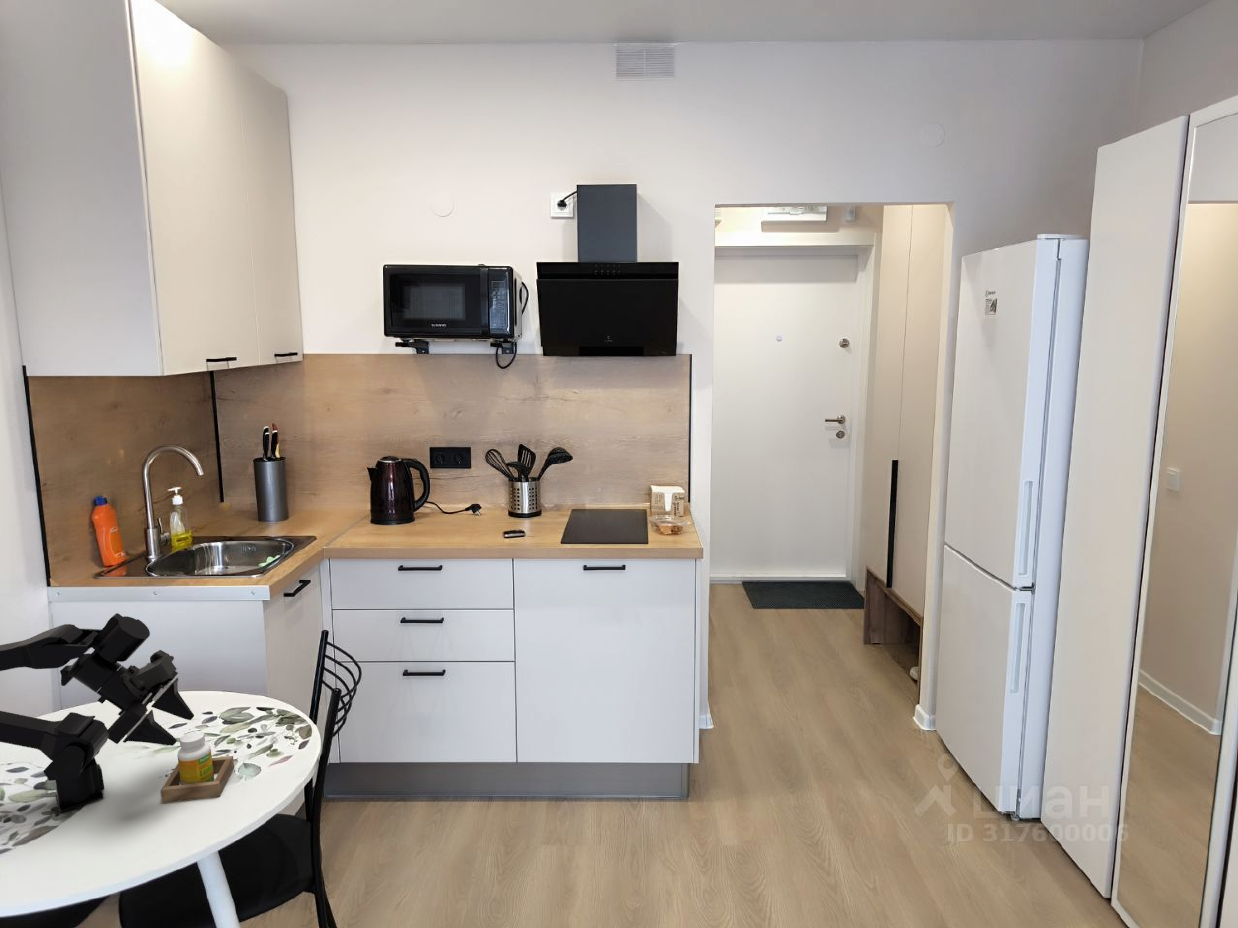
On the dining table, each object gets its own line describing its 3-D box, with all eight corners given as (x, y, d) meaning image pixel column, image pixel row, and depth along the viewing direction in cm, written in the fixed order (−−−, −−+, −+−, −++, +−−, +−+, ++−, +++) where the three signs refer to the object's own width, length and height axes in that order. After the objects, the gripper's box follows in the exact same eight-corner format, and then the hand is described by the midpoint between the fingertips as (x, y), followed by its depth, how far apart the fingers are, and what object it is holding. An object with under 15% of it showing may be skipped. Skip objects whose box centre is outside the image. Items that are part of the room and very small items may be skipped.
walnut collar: (162, 802, 142) (160, 790, 142) (180, 773, 151) (179, 761, 151) (219, 796, 144) (218, 783, 143) (234, 767, 153) (233, 755, 153)
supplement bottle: (204, 793, 145) (198, 743, 143) (175, 793, 145) (168, 744, 143) (220, 776, 150) (214, 728, 148) (191, 776, 150) (185, 728, 149)
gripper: (118, 668, 132) (197, 723, 136) (160, 626, 150) (229, 675, 154) (72, 717, 132) (153, 770, 136) (119, 669, 150) (189, 717, 154)
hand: (184, 730), depth 145 cm, fingers open, 9 cm apart
